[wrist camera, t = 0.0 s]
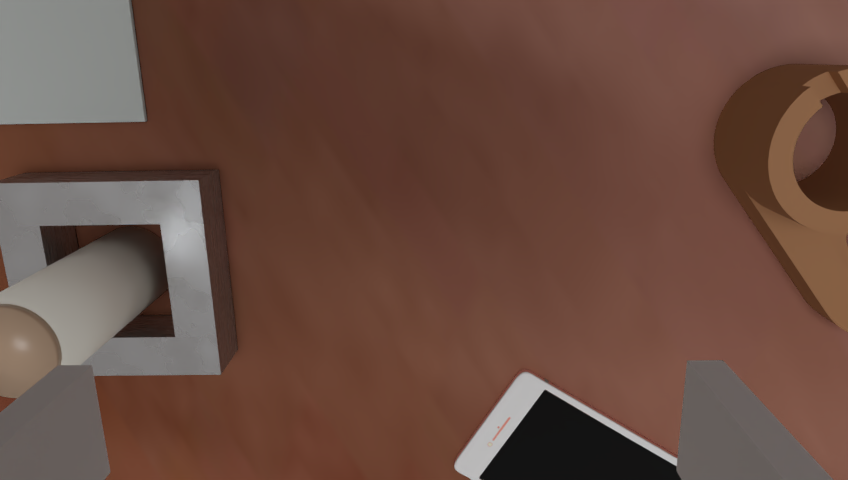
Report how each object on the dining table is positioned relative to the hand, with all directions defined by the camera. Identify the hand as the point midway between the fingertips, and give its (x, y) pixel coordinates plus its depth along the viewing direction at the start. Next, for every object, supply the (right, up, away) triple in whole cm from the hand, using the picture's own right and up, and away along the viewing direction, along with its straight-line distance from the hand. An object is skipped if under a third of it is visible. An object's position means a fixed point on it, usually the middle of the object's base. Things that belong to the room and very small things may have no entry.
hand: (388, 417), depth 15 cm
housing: (-18, +2, +27) cm, 33 cm away
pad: (-21, +16, +24) cm, 35 cm away
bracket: (+25, +6, +26) cm, 37 cm away
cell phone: (+13, -12, +32) cm, 36 cm away
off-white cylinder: (-18, +2, +27) cm, 33 cm away
